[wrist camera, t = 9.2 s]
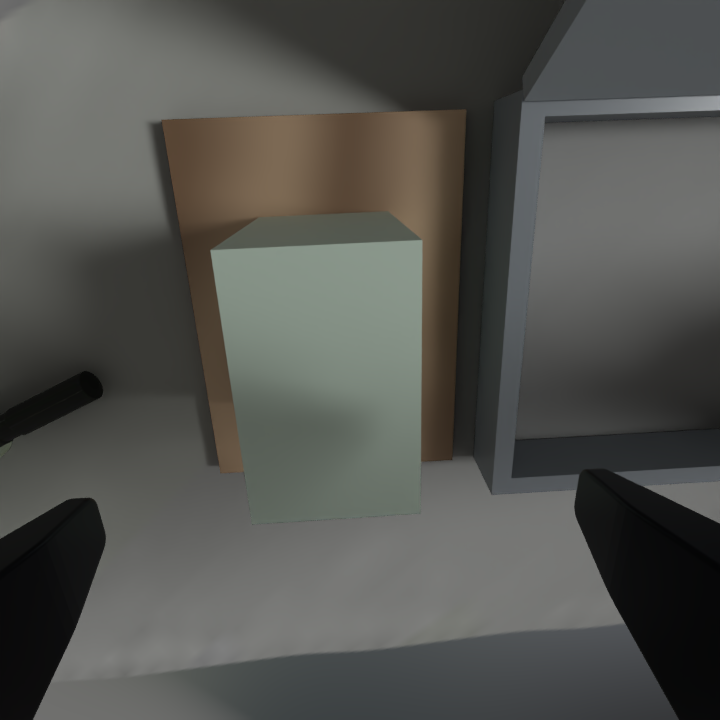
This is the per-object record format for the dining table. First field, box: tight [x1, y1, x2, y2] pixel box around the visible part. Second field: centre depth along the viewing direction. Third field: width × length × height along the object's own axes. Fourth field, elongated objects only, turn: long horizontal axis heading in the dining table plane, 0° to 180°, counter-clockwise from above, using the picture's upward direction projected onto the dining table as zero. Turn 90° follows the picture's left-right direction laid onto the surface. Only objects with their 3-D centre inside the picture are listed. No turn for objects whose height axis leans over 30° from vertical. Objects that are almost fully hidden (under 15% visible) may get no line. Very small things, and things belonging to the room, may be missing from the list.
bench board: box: [162, 109, 466, 473], centre depth 21 cm, size 11×15×1 cm
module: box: [210, 211, 422, 525], centre depth 17 cm, size 5×8×8 cm, turn 2°
